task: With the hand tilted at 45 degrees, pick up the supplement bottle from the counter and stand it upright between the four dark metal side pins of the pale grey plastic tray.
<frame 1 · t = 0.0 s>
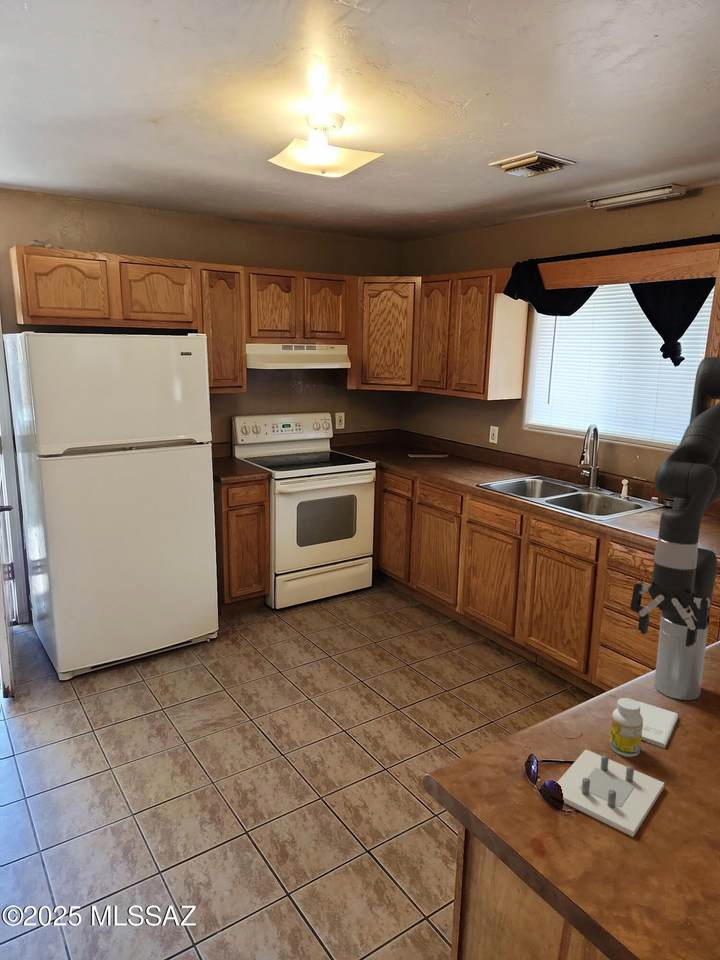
hand: (665, 639, 127), 17 cm above the counter, tool pointing down, fingers open, 8 cm apart
external hard drive: (649, 728, 127), on the counter
supplement bottle: (624, 749, 120), on the counter
pin tray: (607, 791, 109), on the counter
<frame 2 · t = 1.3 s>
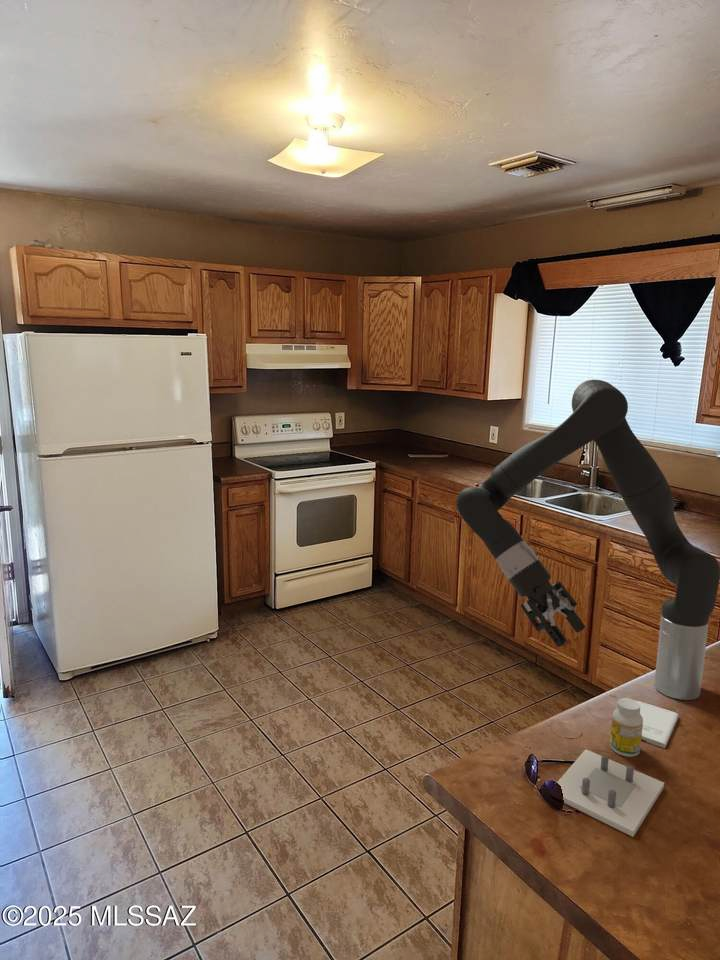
hand: (572, 637, 123), 19 cm above the counter, tool tilted 45°, fingers open, 8 cm apart
nothing on the counter moved.
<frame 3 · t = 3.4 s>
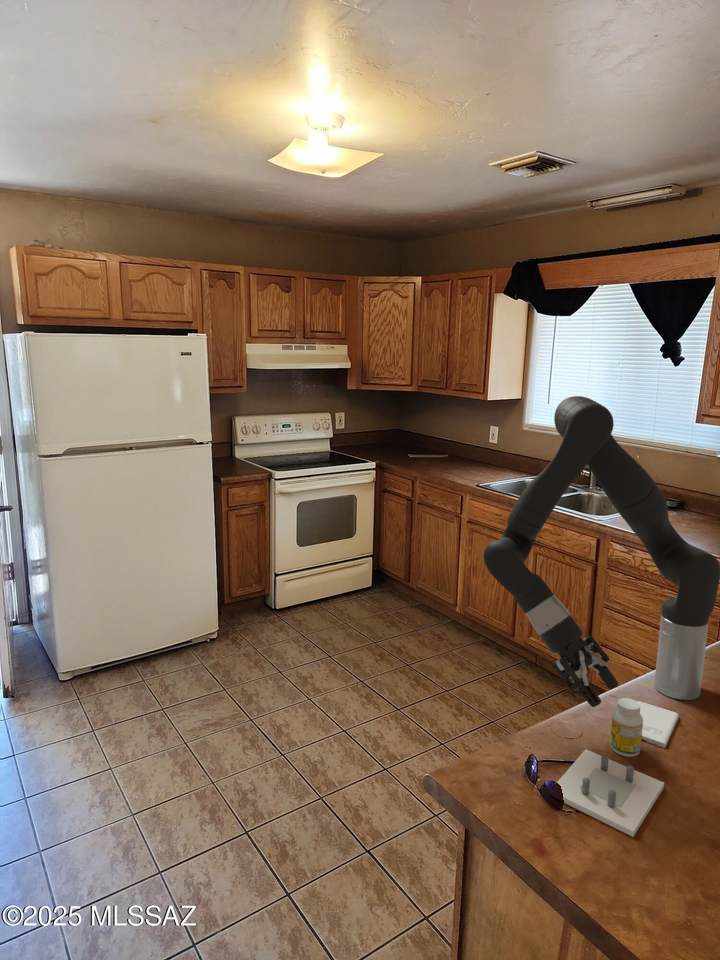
hand: (606, 695, 121), 9 cm above the counter, tool tilted 45°, fingers open, 8 cm apart
nothing on the counter moved.
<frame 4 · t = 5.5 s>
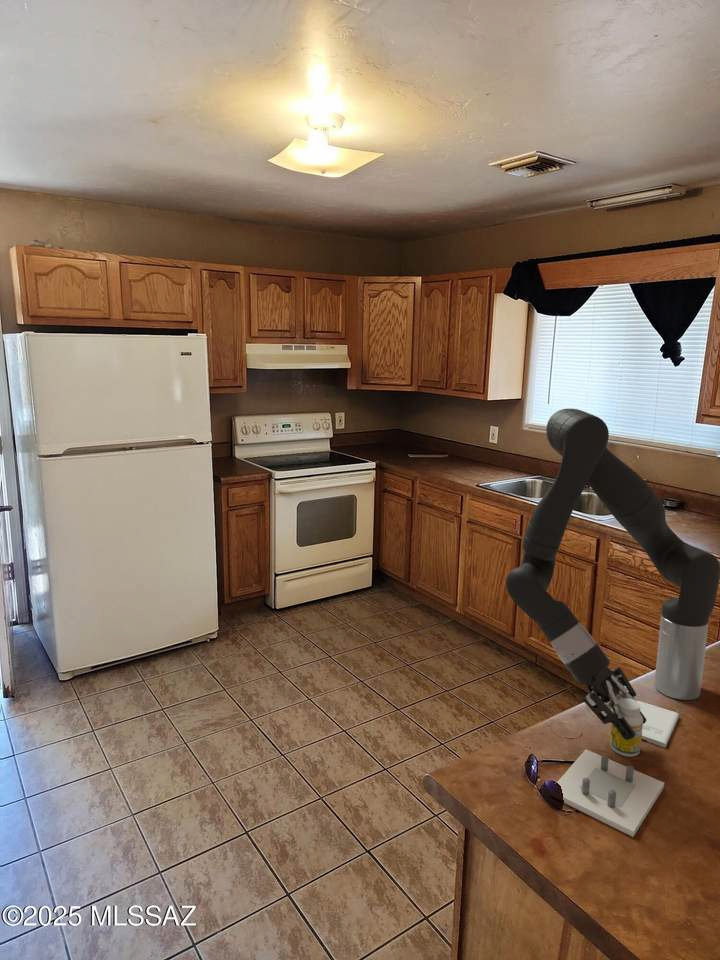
hand: (636, 730, 118), 5 cm above the counter, tool tilted 45°, fingers closed on supplement bottle, 5 cm apart
supplement bottle: (624, 749, 120), on the counter, touching gripper
everything else where it was.
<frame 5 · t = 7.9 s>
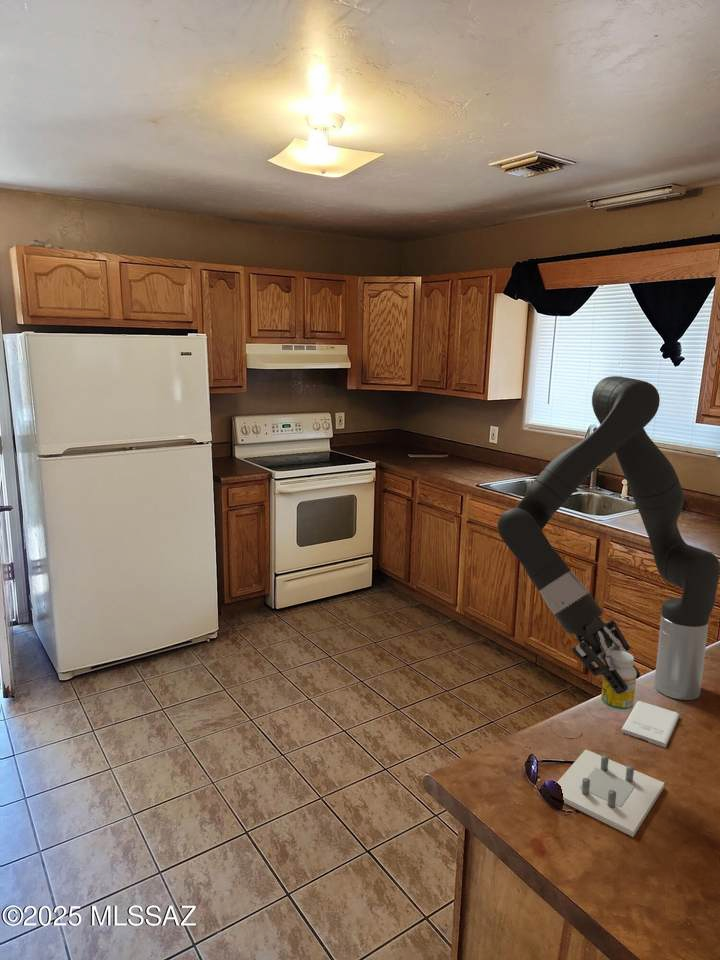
hand: (629, 684, 110), 17 cm above the counter, tool tilted 45°, fingers closed on supplement bottle, 5 cm apart
supplement bottle: (616, 705, 112), point 13 cm above the counter, touching gripper
everything else where it was.
when the fingers open (6 cm above the counter, at t = 10.3 s): supplement bottle stays where it is, resting on pin tray.
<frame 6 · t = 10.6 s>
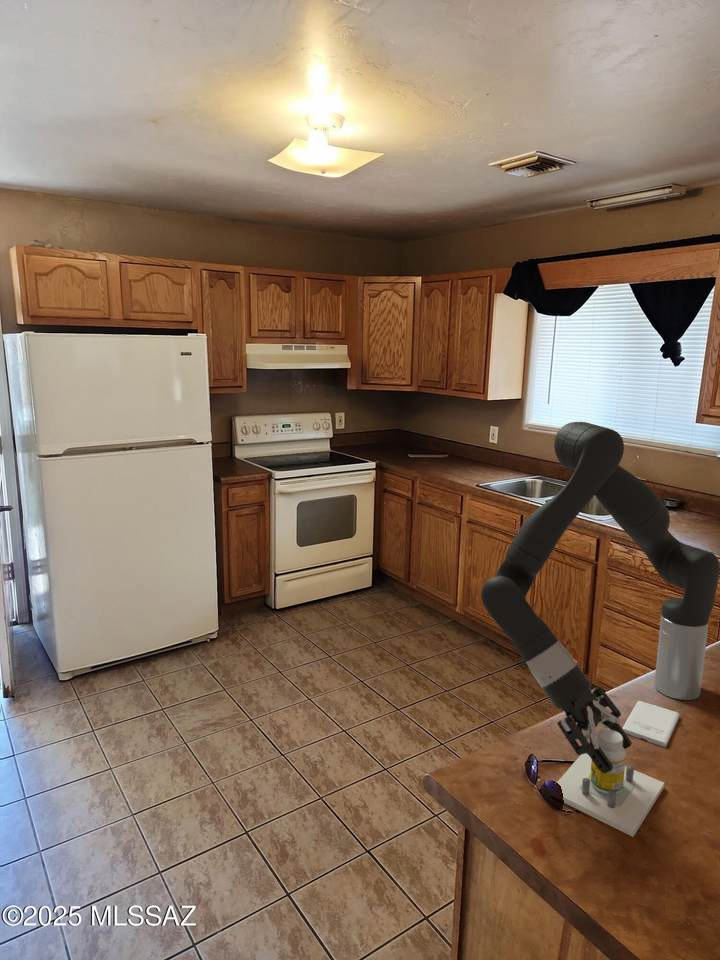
hand: (618, 758, 106), 7 cm above the counter, tool tilted 45°, fingers open, 8 cm apart
supplement bottle: (606, 786, 109), point 1 cm above the counter, touching pin tray
everything else where it was.
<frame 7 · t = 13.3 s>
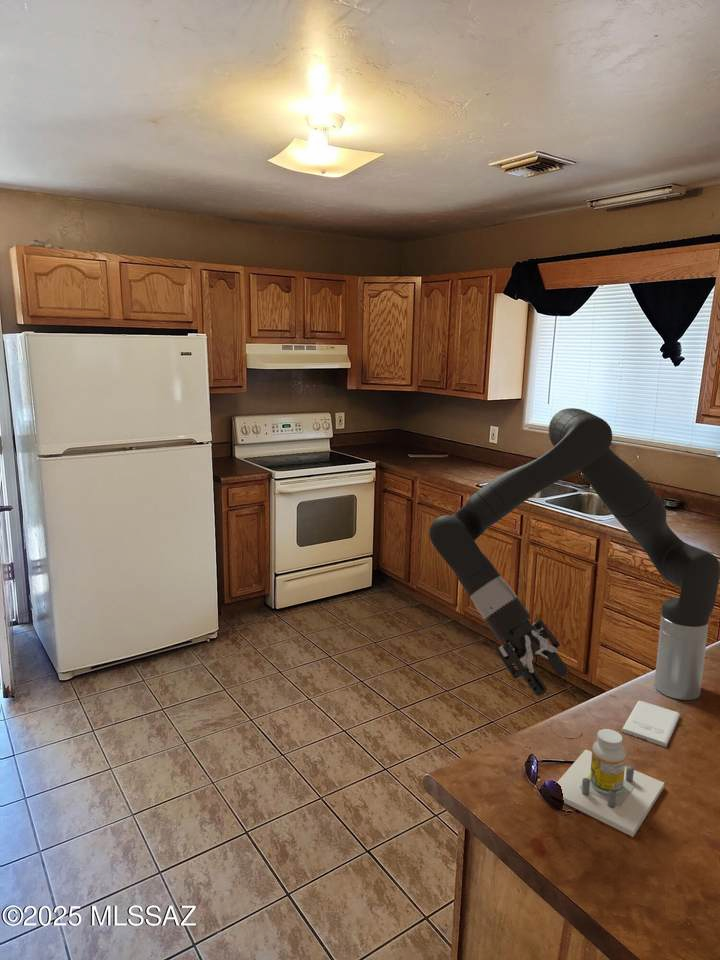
hand: (554, 683, 112), 16 cm above the counter, tool tilted 45°, fingers open, 8 cm apart
nothing on the counter moved.
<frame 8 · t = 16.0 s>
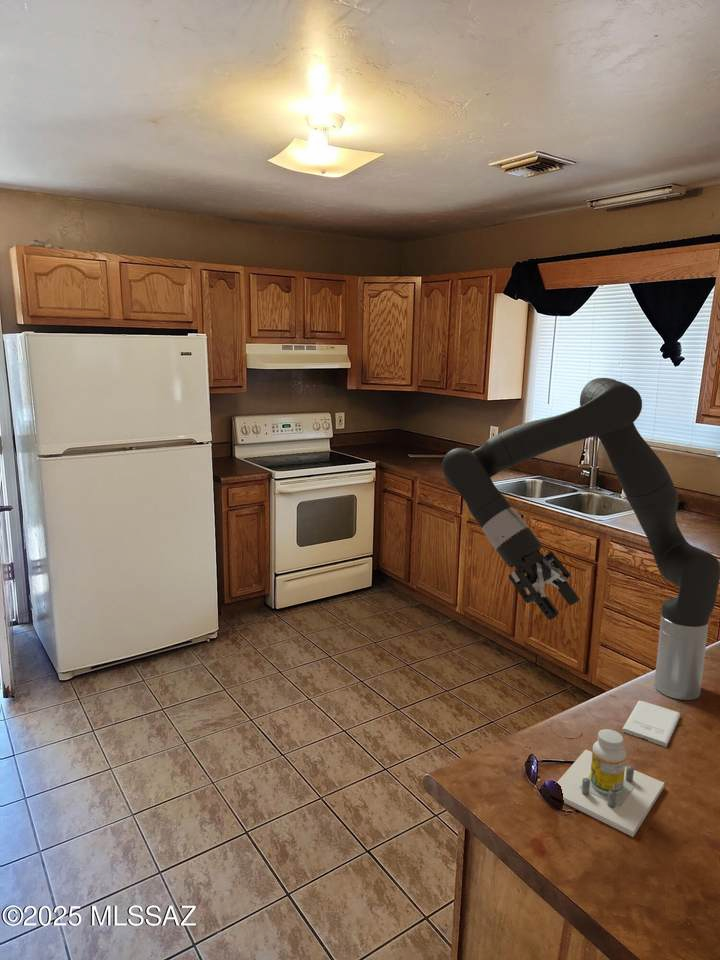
hand: (565, 609, 114), 29 cm above the counter, tool tilted 45°, fingers open, 8 cm apart
nothing on the counter moved.
at the end: supplement bottle 0.2 cm off-centre on the pin tray, point 0.9 cm above the pin tray's base; supplement bottle tilted 0°; the gripper is holding nothing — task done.
